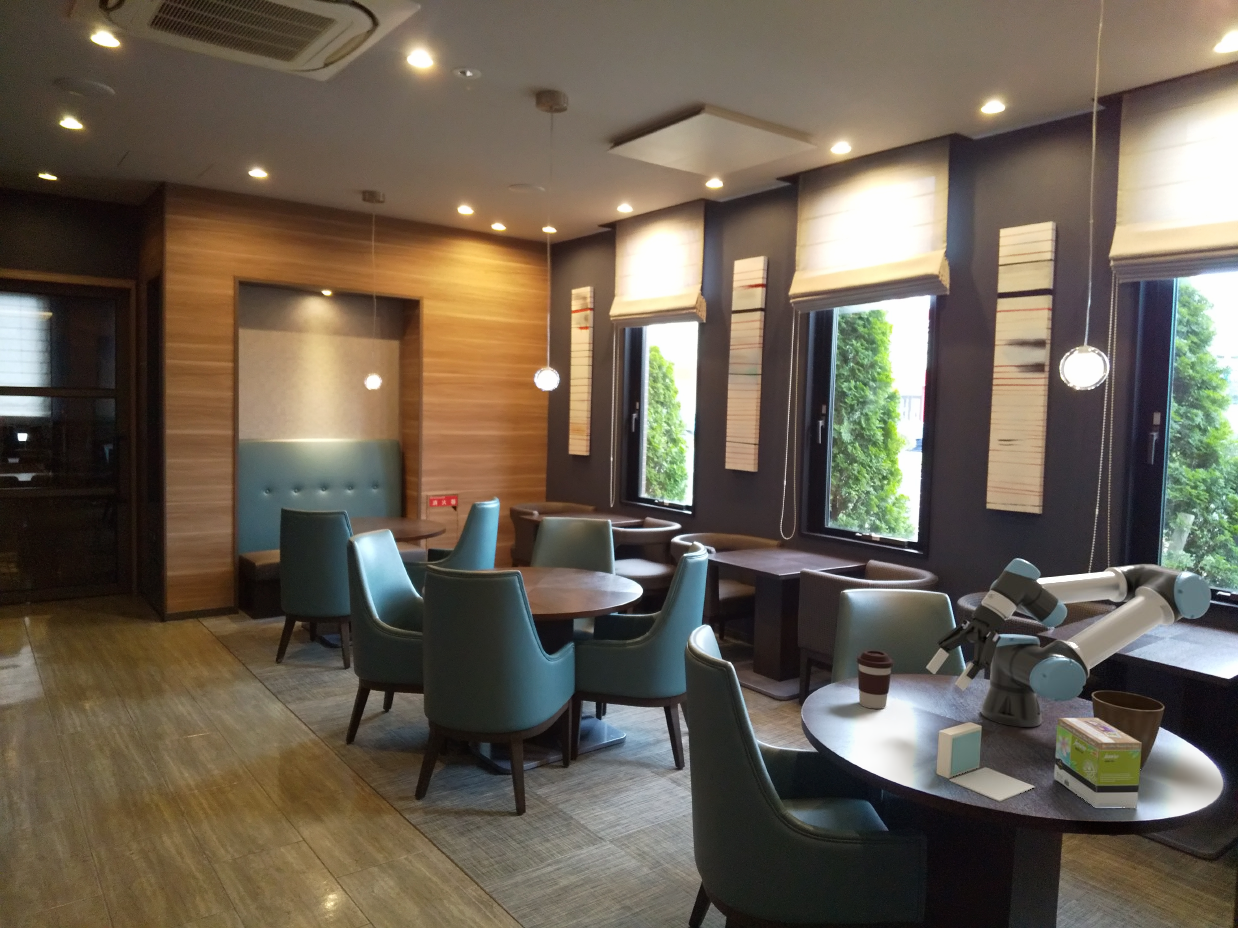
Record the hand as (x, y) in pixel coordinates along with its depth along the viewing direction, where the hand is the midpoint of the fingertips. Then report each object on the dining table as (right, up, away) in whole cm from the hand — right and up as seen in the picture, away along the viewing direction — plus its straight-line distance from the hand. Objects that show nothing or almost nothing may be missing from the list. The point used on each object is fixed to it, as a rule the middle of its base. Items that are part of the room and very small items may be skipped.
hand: (944, 678), depth 215 cm
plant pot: (+38, -18, -13) cm, 44 cm away
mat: (0, -17, -27) cm, 32 cm away
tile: (-4, -16, -20) cm, 26 cm away
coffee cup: (-11, -14, +25) cm, 30 cm away
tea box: (+22, -18, -30) cm, 41 cm away
